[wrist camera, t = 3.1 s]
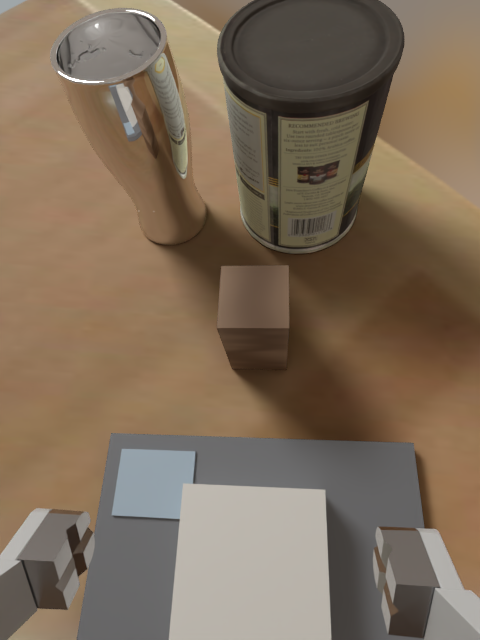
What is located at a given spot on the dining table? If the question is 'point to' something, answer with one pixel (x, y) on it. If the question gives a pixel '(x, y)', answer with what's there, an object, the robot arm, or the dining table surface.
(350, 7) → the coffee can
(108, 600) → the build base
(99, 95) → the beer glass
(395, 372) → the dining table surface
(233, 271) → the walnut column
